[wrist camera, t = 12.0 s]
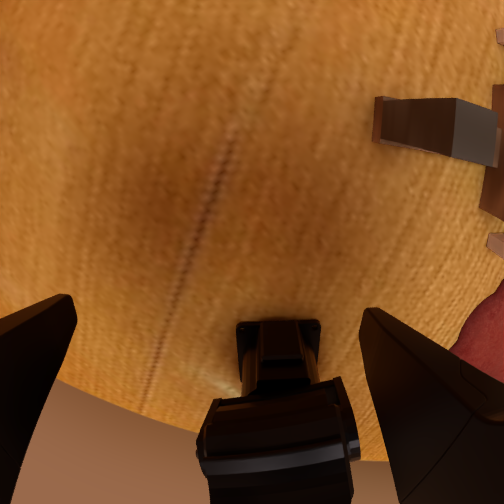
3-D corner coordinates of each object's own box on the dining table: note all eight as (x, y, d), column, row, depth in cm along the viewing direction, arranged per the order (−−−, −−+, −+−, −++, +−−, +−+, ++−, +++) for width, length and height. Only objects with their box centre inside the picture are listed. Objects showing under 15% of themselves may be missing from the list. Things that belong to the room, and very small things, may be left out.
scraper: (494, 209, 21) (573, 257, 12) (365, 192, 21) (434, 247, 12) (508, 91, 17) (596, 101, 8) (376, 47, 17) (455, 13, 8)
